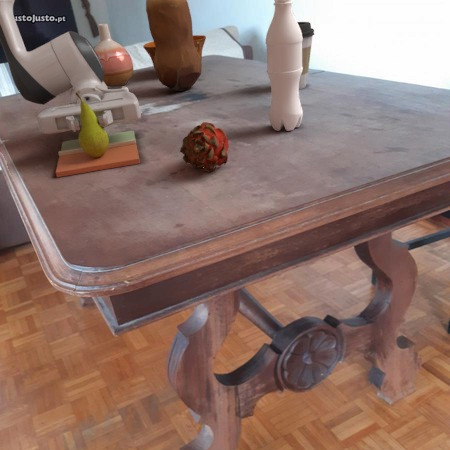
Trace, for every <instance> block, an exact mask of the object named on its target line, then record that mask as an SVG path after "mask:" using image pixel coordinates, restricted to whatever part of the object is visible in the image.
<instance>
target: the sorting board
mask: <svg viewBox="0 0 450 450" xmlns="http://www.w3.org/2000/svg"><path fill="white" fill-rule="evenodd" d="M107 136H108V140H109V144H108V148H107V150H106V152H105V154H104V155H103V156H101V157H97V158H94V157H91V156H90V155H88V154H87V153H86V152H85V151H84V150H83V149H82V148H81V146H80V143H79V138H78V139H70V140H65V141H62V143H61V144H62V145H61V148H60V150H59V151H58V152H57V154H58V156H59V157H58V160H57V165H56V169H55V176H56V178H61V177H68V176H73V175H79V174H86V173H91V172H96V171H103V170H108V169H114V168H121V167H126V166H131V165H138V164H139V165H140V156H139V151H138V150H139V149H138V146H137V141H136V134H135V130H134V129H133V130H128V131H127V130H126V131H120V132H114V133H107Z"/></svg>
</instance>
